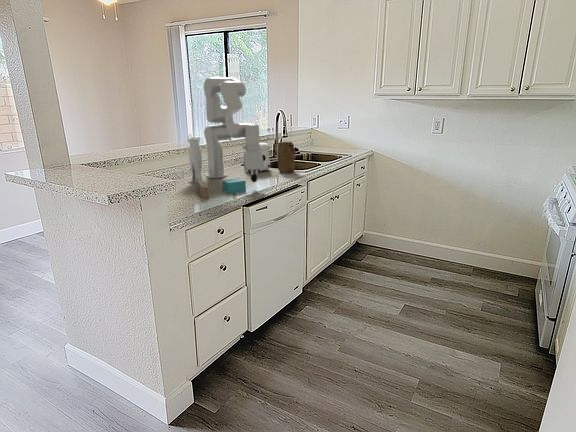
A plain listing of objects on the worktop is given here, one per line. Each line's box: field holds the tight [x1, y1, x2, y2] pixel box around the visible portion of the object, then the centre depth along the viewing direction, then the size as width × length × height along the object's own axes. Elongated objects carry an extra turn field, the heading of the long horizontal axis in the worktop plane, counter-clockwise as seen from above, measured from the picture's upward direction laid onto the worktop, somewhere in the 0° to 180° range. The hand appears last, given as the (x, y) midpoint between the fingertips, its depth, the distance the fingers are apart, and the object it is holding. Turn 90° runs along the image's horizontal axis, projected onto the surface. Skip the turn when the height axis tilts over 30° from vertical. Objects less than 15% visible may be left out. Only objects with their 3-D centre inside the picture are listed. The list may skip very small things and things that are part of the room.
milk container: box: [244, 142, 271, 173], centre depth 255 cm, size 17×17×18 cm
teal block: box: [221, 177, 247, 195], centre depth 205 cm, size 8×10×6 cm
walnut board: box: [196, 178, 210, 200], centre depth 199 cm, size 20×3×6 cm, turn 21°
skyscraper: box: [187, 133, 204, 185], centre depth 221 cm, size 8×8×28 cm
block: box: [277, 141, 296, 174], centre depth 250 cm, size 11×8×20 cm
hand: (254, 181), depth 208 cm, fingers closed
